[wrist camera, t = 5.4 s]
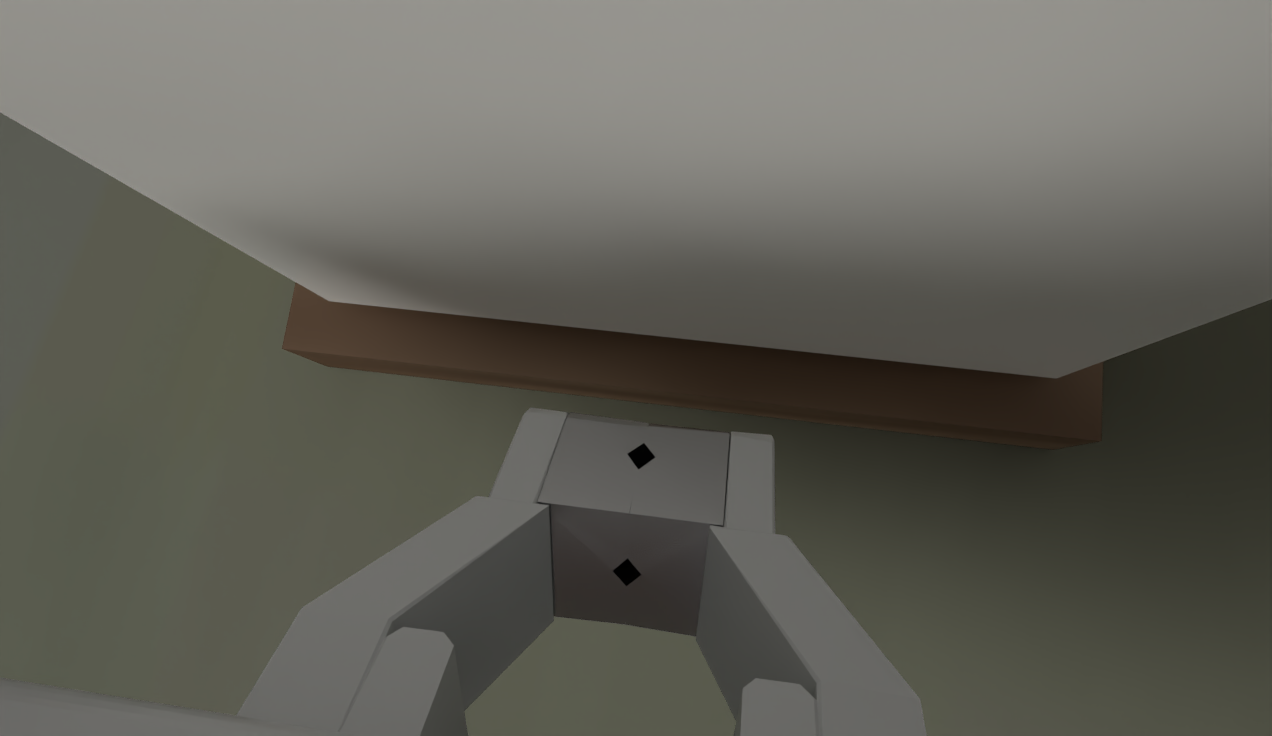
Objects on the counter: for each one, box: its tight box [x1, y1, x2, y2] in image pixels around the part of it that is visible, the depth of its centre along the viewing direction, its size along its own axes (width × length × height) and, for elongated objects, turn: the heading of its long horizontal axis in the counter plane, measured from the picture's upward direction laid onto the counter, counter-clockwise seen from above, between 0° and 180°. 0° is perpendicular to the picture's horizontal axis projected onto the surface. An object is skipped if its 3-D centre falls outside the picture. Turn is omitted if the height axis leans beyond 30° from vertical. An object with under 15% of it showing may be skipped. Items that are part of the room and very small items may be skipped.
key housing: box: [282, 283, 1103, 450], centre depth 15 cm, size 14×16×6 cm
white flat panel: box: [0, 0, 1272, 379], centre depth 9 cm, size 2×14×12 cm, turn 83°
